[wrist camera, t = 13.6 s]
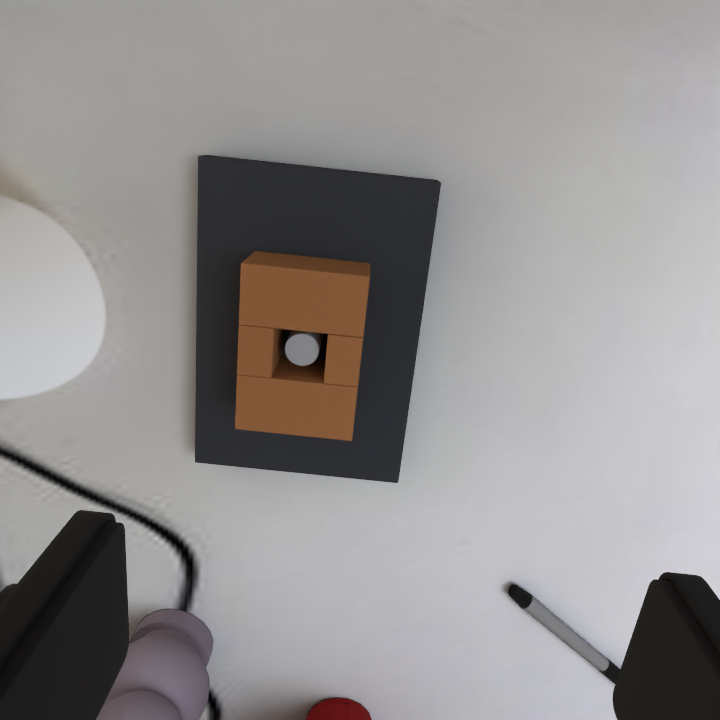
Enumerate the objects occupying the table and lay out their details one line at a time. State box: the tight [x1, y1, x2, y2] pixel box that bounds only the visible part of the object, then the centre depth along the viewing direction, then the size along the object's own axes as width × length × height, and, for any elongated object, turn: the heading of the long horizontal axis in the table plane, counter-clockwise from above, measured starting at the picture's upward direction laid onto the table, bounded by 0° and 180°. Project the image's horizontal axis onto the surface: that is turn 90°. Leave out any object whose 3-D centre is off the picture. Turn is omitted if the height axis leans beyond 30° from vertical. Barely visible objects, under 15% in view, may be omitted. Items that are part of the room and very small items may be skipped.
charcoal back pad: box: [195, 155, 441, 483], centre depth 37 cm, size 20×14×5 cm
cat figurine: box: [96, 609, 213, 720], centre depth 43 cm, size 8×8×12 cm
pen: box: [508, 585, 620, 684], centre depth 47 cm, size 1×16×1 cm, turn 48°
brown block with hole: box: [235, 251, 370, 441], centre depth 36 cm, size 10×7×4 cm
